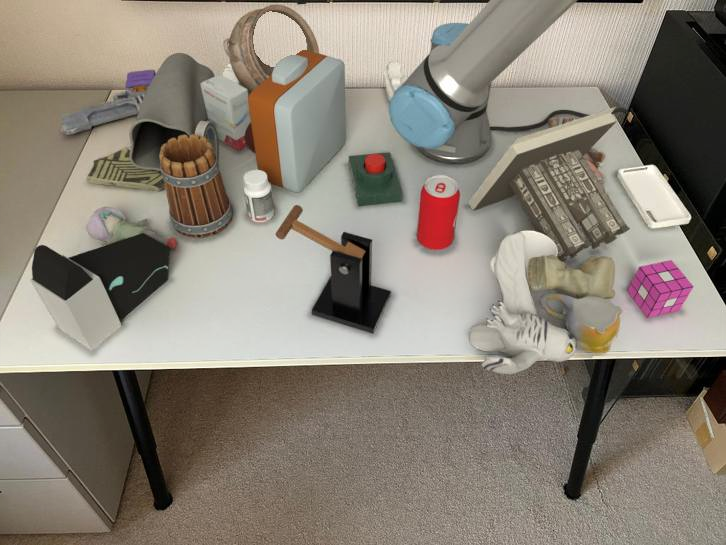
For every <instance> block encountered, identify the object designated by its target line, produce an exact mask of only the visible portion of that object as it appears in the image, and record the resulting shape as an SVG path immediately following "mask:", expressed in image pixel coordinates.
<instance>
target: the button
mask: <svg viewBox="0 0 726 545" xmlns="http://www.w3.org/2000/svg"><path fill="white" fill-rule="evenodd" d="M370 154H371V155H368V156H367V157H366V159H365V169H366V170H367V171H368V172H371V173H380V172H382V171H383V170H384V169H385V158H384V157H383V156H382V155H379V154H375V153H370Z"/></svg>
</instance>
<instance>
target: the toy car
mask: <svg viewBox="0 0 726 545" xmlns="http://www.w3.org/2000/svg"><path fill="white" fill-rule="evenodd" d="M226 65H227V66H226V67H225V69H224V70H223V72H222V74H221V75H222V76H224V77H225V78H227V79H229V80H231V81H233V82H235V83H237V84H239V85H240V86H242V85H241V84H240V82H239V81H238V79H237V78H236V76H235V74H234V72H233V69H232V66H231V63H230V61H229V62H228V63H227V64H226ZM242 87H243V86H242Z"/></svg>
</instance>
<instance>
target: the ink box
mask: <svg viewBox="0 0 726 545" xmlns="http://www.w3.org/2000/svg"><path fill="white" fill-rule="evenodd" d="M222 75H223V74H220V73H219V74H217V75H214V77H212V78H210V79H208V80H206V81H204V82H202V83H201V84H200V85H201V89H202V94H203V98H204V103H205V108H206V112H207V121H209V122H213V123H214V125H215V127H216V129H217V133H218V140H219V141H220V142H223V143H225V144H226V145H228V146H229V147H231V148H233V149H235V150H236V151H242V150H243V149H245V148H246V147H247V145H246V143H245V132H246V129H247V127H248V125H249V124H250V122H251V119H250V112H249V105H248V98H249V92H248V89H246V88H244V87H242V86H240V85H239V84H237V83H235V82H233V81H231V80H229V79H227V78H225V77H224V76H222Z"/></svg>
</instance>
